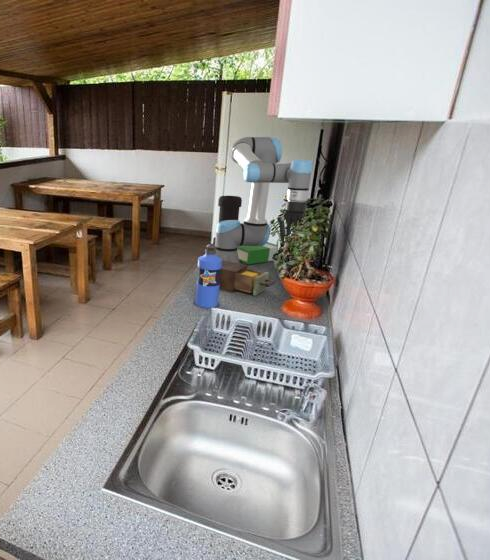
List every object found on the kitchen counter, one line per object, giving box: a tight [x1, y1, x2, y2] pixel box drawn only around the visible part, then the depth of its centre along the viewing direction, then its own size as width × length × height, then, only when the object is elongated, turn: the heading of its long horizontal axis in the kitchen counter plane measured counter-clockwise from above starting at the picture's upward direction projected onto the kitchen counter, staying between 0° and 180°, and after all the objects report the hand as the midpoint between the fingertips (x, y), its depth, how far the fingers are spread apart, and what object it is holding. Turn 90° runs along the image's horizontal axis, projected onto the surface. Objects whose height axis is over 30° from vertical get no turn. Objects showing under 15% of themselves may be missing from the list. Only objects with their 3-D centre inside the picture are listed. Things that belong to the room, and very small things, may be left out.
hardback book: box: [237, 241, 278, 265], centre depth 237 cm, size 18×7×24 cm
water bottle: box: [194, 243, 222, 309], centre depth 170 cm, size 9×9×25 cm
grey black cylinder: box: [212, 195, 243, 245], centre depth 263 cm, size 16×16×30 cm
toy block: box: [241, 271, 258, 289], centre depth 187 cm, size 6×6×6 cm
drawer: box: [234, 267, 276, 297], centre depth 186 cm, size 18×11×8 cm, turn 49°
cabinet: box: [219, 260, 249, 293], centre depth 194 cm, size 15×13×10 cm
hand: (288, 259), depth 173 cm, fingers closed
